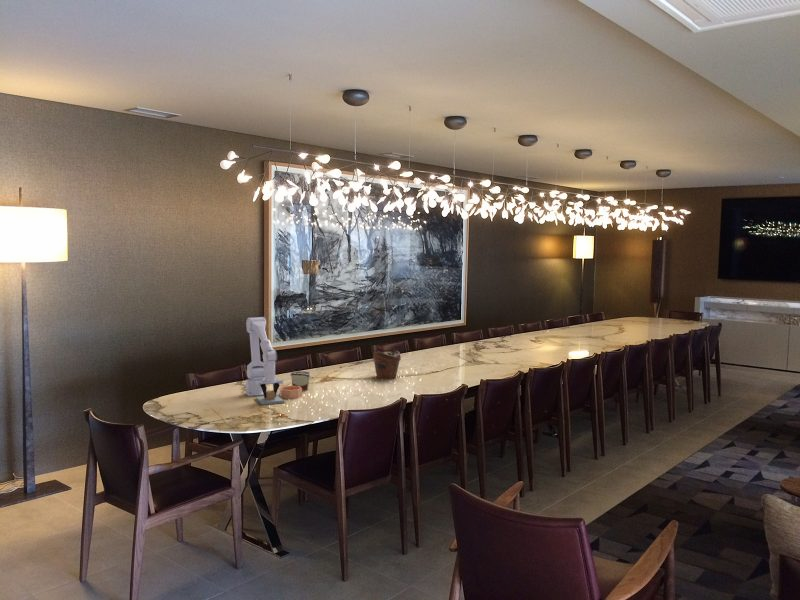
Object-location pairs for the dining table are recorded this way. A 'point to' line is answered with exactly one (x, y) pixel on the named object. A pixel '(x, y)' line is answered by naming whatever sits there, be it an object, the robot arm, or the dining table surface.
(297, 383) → the food container
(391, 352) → the brown pot
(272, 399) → the lid
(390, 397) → the dining table surface
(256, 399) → the mat
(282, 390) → the bowl
